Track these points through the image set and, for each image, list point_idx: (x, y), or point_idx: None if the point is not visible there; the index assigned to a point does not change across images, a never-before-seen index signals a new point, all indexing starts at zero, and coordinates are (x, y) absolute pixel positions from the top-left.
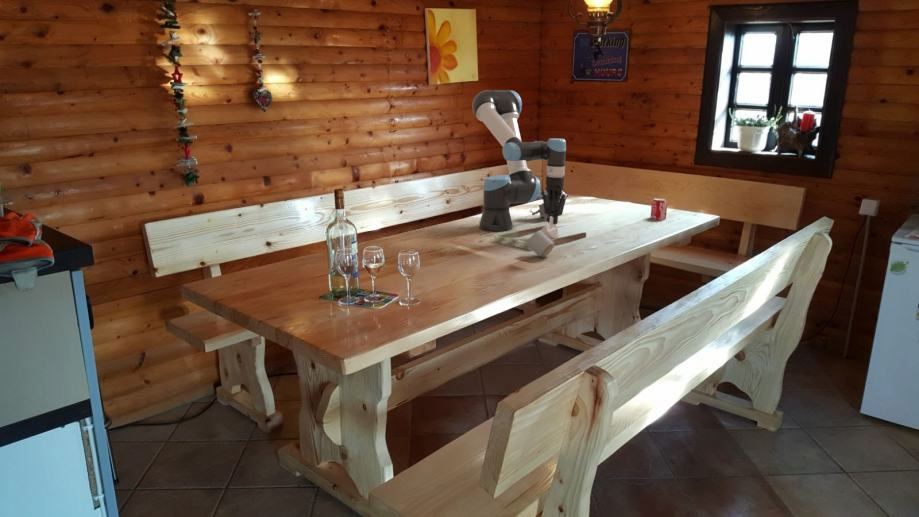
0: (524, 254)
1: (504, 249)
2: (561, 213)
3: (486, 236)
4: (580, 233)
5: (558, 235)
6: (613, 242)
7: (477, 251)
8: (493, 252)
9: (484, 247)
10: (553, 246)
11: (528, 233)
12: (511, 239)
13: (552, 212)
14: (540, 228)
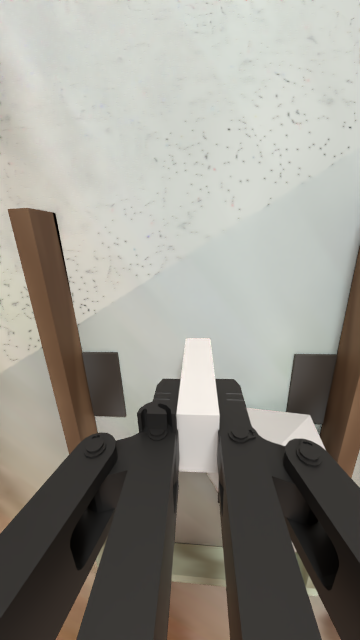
0: (313, 601)
1: (218, 589)
2: (333, 478)
3: (20, 506)
4: None
5: (325, 449)
6: None
7: (182, 629)
8: (222, 620)
9: None
10: None
11: (85, 400)
12: (193, 583)
13: (160, 463)
14: (56, 311)
